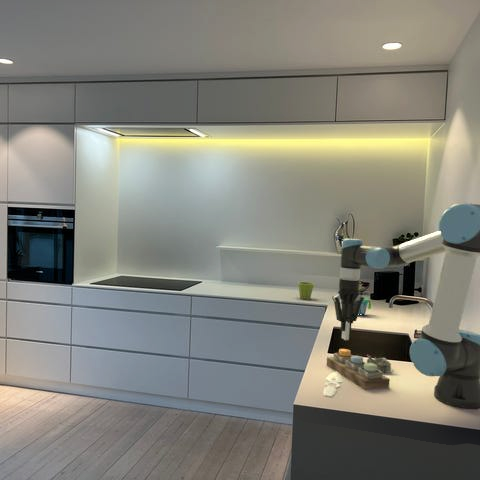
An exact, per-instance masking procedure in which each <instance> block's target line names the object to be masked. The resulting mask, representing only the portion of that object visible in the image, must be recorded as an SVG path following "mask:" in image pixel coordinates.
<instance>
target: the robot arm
mask: <svg viewBox="0 0 480 480" xmlns="http://www.w3.org/2000/svg"><path fill="white" fill-rule="evenodd" d="M340 250H341V254H340V256H341V257H340V269H339V270H340V271H339V277H340V279H339V283H338V285H339V286H338V288H339V289H338V291H337V295H335V296H334V295H333V296H332V297H331V298H332V301H333V302H334V309H335V317H336V318H335V319H336V320H337V321H339V322H340V331H341V339H343V340H344V341H349V339H350V331H352V324H354V322H356V321H357V319H358V316H359V315H358V313H359V309H360V306H361V303H362V301H363V300H364V298H365V297H364V296H361V295H360V293H359V289H360V282H361V281H360V279H361V269H362V268H361V267H362V266H364V267H368V268H372V269H384V268H386V267H387V268H389V267H395V268H401V267H406V266H408V265H410V263H413V262H415V261H419V260H423V259H427V258H429V257H433V256H436V255H440V254H443V253H444V258H443V262H442V265H441V270H440V271H441V272H440V275H439V280H438V283H437V288H436V292H435V296H434V300H433V304H432V308H431V313H430V318H429V321H428V324H426V325H423V326H422V329H421V332H420V337H418V338H417V339H415V340H414V341H413V342H412V343H411V345H410V347H409V357H410V360H411V363H413V366H414V367H415V369H416V370H417V371H418V372H419V373H421V374H422V375H425V376H427V377H439V378H438V380H437V383H436V385H435V386H434V390H433V395H434V398H435V399H437V400H438V401H440V402H442V403H444V404H447V405H450V406H453V407H458V408H461V409H480V334H479V333H476V332H473V331H468V330H466V329H465V330H464V329H460V326H461V322H462V318H463V314H464V310H465V308H466V307H465V306H466V301H467V298H468V293H469V291H470V286H471V283H472V282H471V281H472V278H473V274H474V270H475V267H476V263H477V259H478V257H480V204H476V203H468V202H465V203H455V204H453V205H451V206H450V207H447V209H446V210H445V211H444V212H443V213H442V215H441V216H440V219H439V221H438V230H437V231H435V232H432V233H429V234H426V235H423V236H420V237H417V238H414V239H411V240H409V241H408V240H407V241H405V242H403V243H399V244H397V245H394V246H370V245H364V244H363V240H362V239H360V238H359V239H358V238H344V239H343V241H342V243H341V249H340ZM355 300H356V301H355ZM354 303H355V304H354ZM353 306H354V307H353Z"/></svg>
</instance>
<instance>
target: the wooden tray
mask: <svg viewBox="0 0 480 480" xmlns="http://www.w3.org/2000/svg"><path fill="white" fill-rule="evenodd" d="M351 356H354V355H353V354H350V357H343V358H342V357H340V356H339V352H335V353H334V352H333V356H327V357H326V365H327V366H328V367H329V366H330V367H329V368H331V369H332V370H334V372H336V371H337V372H339V373H340V374H341V375H343V377H344V378H346V379H348V381H351V382H353V383H354V384H355V385H357V386H358V387H359V388H361V389H363V390H373V389H374V390H375V389H386V388H387V389H388V388H390V378H389V377H387V376H385V375H383V374H384V373H383V372H384V371H379V370H378V369H377V372H373V373H368V372H366V371H364V363H366V362H365V361H363V364H360V365H354V364H352V363H351Z"/></svg>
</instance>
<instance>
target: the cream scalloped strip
mask: <svg viewBox="0 0 480 480" xmlns="http://www.w3.org/2000/svg"><path fill="white" fill-rule="evenodd" d="M325 381H326V382H324V388H323V396H324V397H326V398H327V397H328V398H332V397H334V396H335V394H336V393H337V392H338V391H337V390H338V389H339V388H340V387H341V385H340V384H343V383H344V376H343V375H342V374H340V373H339V372H336V371H334V372H331V373H330V374H329V375H327V377H326V378H325ZM331 385H335V386H331Z"/></svg>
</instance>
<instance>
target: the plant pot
mask: <svg viewBox="0 0 480 480" xmlns="http://www.w3.org/2000/svg"><path fill="white" fill-rule="evenodd" d="M297 284H298V290H299V292H298V294H299V298H300V300H308V301H309V300H311V297H312V293H313V290H314V285H315V283H313V282H309V281H298V282H297Z"/></svg>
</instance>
